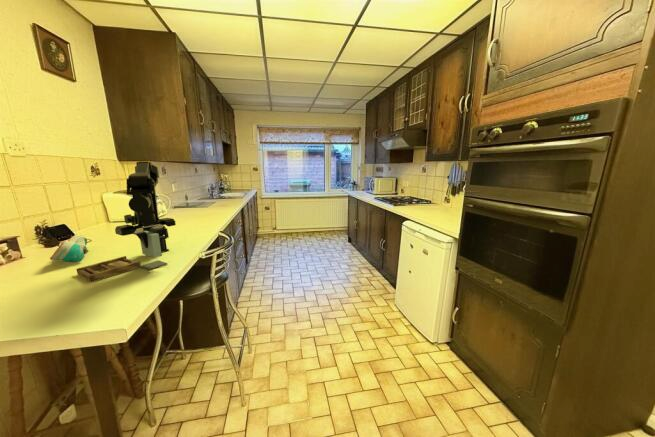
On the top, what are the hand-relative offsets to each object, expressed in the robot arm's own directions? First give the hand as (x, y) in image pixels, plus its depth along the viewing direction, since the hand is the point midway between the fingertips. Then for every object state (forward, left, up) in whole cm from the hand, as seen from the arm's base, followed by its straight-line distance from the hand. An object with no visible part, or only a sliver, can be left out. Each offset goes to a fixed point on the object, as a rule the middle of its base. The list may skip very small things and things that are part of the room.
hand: (150, 246), depth 99 cm
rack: (+11, -9, -8) cm, 17 cm away
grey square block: (0, 0, -3) cm, 3 cm away
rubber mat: (0, 0, -8) cm, 8 cm away
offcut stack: (+8, -9, -8) cm, 15 cm away
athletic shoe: (+13, -43, -8) cm, 45 cm away
